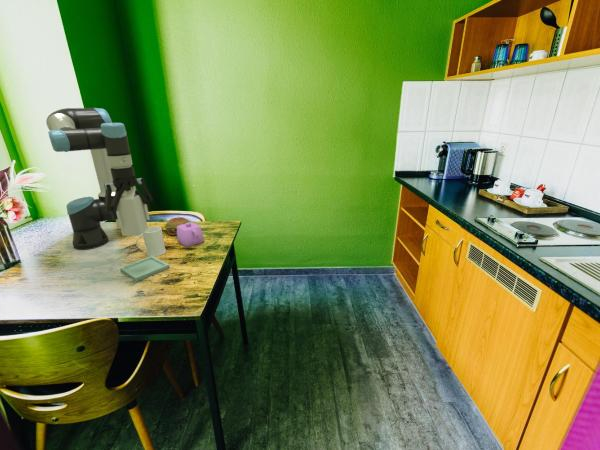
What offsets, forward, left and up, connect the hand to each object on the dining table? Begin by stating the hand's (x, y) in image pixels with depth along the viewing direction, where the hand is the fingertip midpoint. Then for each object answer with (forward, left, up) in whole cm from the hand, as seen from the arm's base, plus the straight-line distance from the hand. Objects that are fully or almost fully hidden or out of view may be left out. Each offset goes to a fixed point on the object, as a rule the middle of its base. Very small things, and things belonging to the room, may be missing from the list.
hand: (133, 222), depth 121 cm
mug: (-13, +10, -22) cm, 27 cm away
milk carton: (0, 0, -4) cm, 5 cm away
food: (-28, +33, -22) cm, 49 cm away
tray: (0, 0, -21) cm, 21 cm away
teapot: (-11, +29, -22) cm, 38 cm away
